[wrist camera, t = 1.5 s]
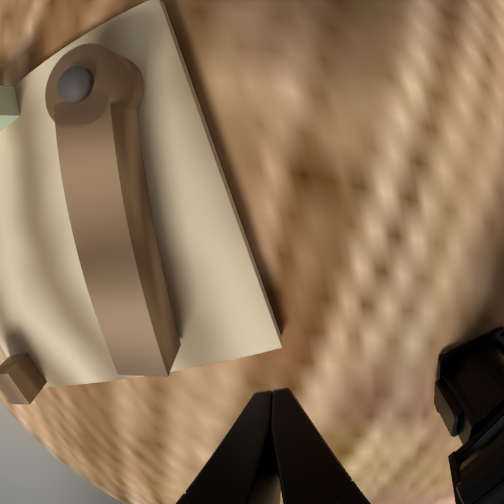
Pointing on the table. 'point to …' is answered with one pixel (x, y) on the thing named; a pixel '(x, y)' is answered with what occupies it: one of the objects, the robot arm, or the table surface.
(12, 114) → the socket blocks
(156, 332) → the hinged leg
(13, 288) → the board
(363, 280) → the table surface
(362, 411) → the table surface
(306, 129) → the table surface
